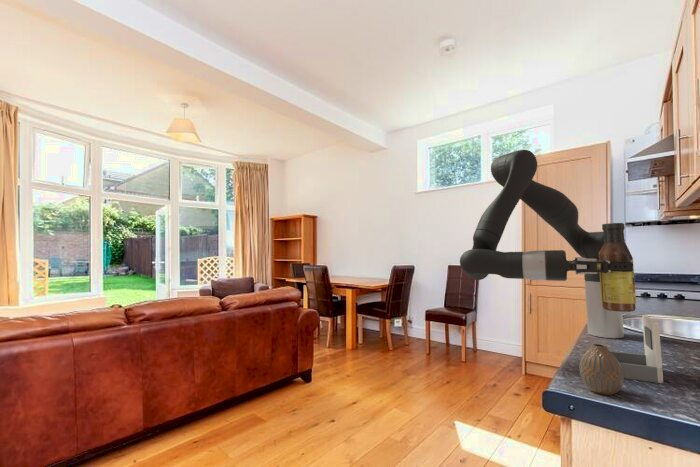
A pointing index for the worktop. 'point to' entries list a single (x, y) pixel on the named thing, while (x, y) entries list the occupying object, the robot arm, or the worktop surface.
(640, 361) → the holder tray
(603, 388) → the vase
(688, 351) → the worktop surface
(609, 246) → the sauce bottle
